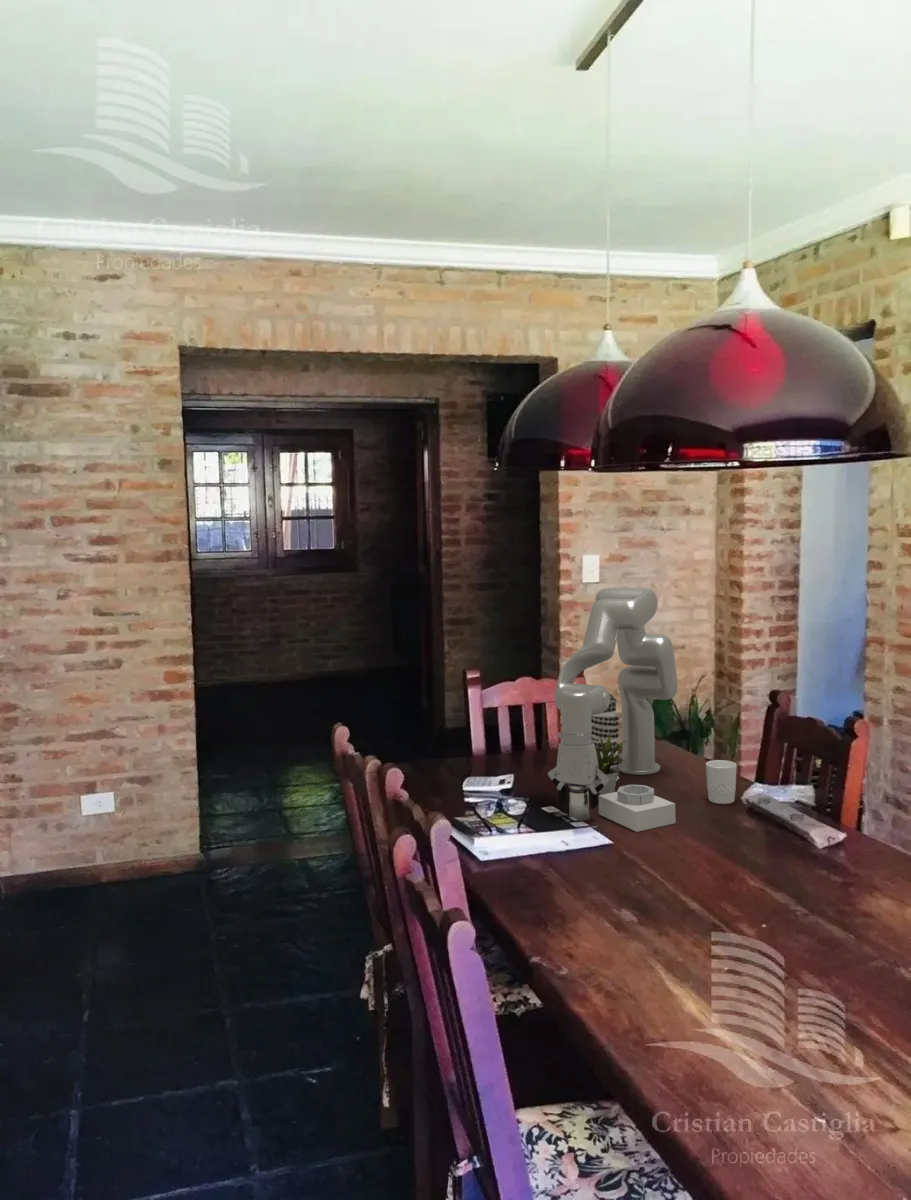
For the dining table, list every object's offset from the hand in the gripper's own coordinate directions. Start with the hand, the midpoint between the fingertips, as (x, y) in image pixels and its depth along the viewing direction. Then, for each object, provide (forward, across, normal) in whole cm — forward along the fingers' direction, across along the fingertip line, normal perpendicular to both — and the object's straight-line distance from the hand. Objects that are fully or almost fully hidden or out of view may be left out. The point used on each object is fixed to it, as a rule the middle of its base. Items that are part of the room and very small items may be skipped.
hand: (579, 805), depth 237 cm
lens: (+3, 0, 0) cm, 3 cm away
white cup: (+4, +30, +28) cm, 41 cm away
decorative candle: (+3, -6, +36) cm, 37 cm away
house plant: (+3, 0, +22) cm, 22 cm away
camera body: (+3, +13, +5) cm, 15 cm away
